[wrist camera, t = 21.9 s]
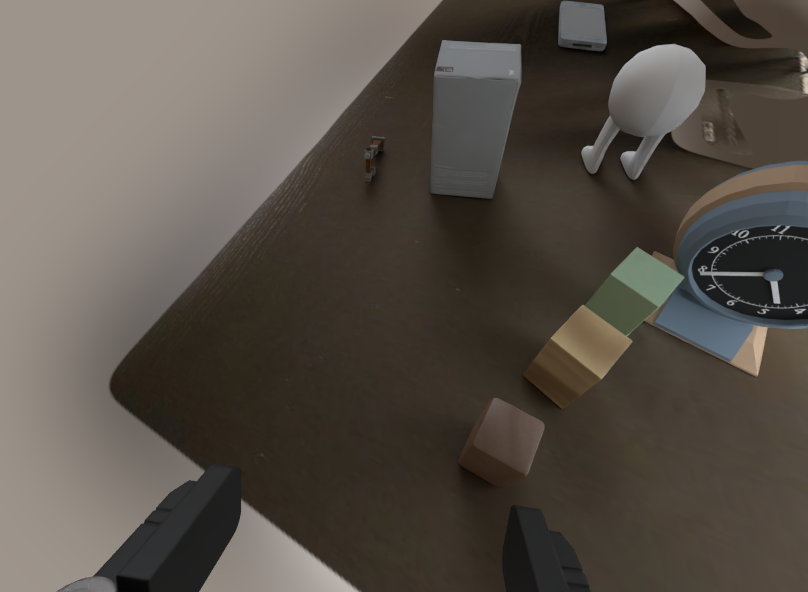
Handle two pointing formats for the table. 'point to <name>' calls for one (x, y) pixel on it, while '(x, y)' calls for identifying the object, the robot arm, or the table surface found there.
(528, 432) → the wooden block
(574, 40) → the phone
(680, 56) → the toy character
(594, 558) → the table surface
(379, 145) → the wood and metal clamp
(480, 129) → the cosmetic box
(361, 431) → the table surface
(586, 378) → the line block
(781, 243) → the alarm clock
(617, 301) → the line block
